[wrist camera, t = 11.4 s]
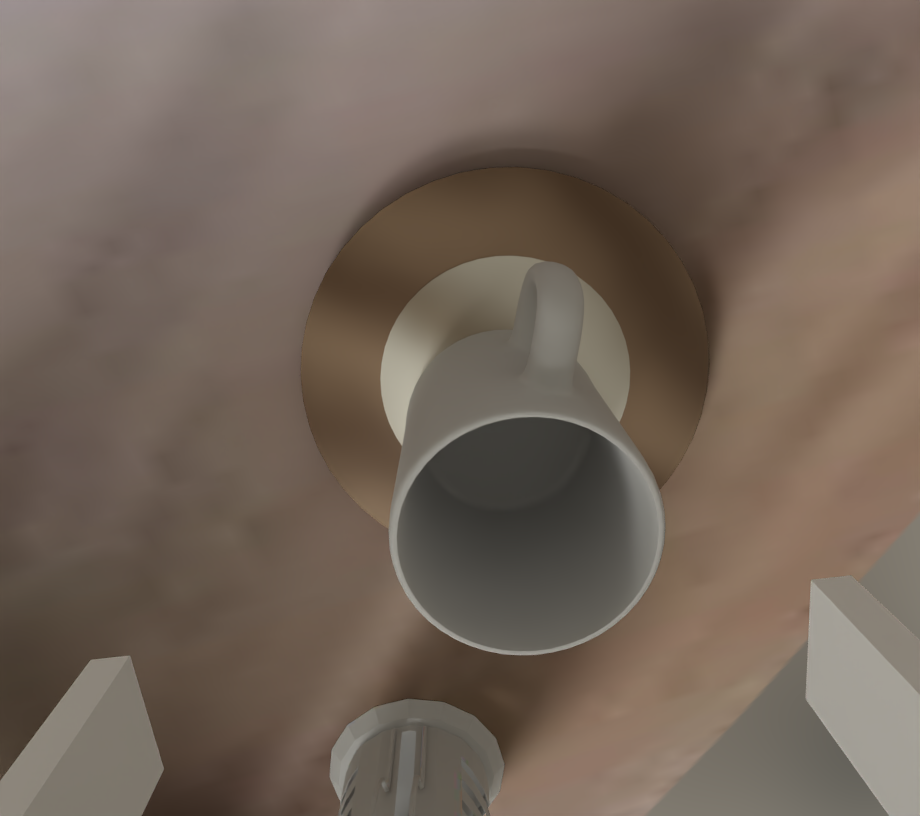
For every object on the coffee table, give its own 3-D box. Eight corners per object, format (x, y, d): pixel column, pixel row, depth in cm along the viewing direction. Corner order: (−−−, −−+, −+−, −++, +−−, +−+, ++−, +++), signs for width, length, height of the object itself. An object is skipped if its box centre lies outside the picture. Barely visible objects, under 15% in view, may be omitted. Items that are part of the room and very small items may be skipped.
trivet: (553, 608, 36) (560, 641, 33) (237, 433, 33) (219, 455, 30) (781, 313, 31) (811, 325, 29) (440, 77, 28) (438, 67, 26)
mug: (575, 518, 33) (633, 675, 22) (395, 493, 32) (369, 642, 22) (634, 262, 29) (736, 308, 19) (433, 230, 29) (422, 258, 18)
